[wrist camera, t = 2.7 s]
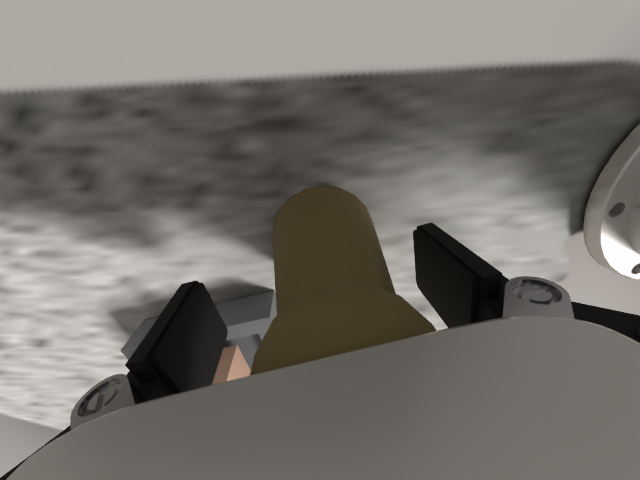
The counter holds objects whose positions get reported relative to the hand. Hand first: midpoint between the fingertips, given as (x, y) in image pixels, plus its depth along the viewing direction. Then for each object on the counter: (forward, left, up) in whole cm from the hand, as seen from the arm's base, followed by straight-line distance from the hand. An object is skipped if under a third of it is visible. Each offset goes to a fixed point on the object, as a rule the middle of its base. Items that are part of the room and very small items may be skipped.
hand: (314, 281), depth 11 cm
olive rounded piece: (-1, 0, -5) cm, 5 cm away
